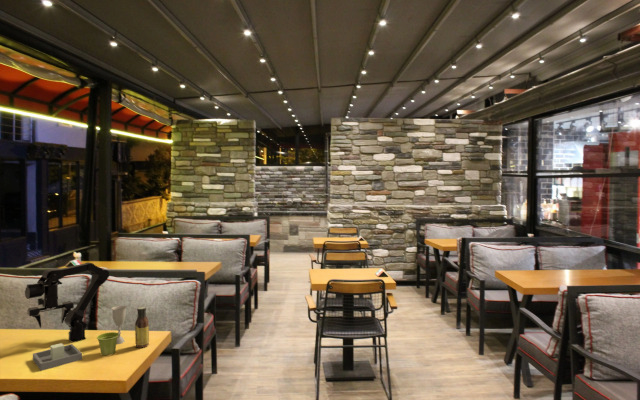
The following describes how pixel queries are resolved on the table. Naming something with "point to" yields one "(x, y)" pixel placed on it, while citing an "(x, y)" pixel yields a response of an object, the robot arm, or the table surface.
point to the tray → (45, 361)
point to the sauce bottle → (141, 328)
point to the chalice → (119, 320)
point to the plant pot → (108, 343)
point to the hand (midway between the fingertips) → (51, 325)
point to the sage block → (57, 351)
